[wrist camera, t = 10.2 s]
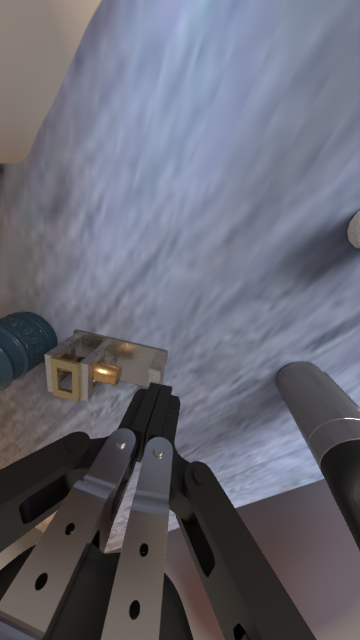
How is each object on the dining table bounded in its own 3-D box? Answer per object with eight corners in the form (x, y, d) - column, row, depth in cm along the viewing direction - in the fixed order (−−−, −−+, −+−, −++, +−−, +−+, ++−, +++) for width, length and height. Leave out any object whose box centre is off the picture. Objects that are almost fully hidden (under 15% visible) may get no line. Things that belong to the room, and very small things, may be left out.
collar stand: (167, 350, 42) (157, 379, 33) (160, 388, 46) (149, 423, 37) (76, 329, 44) (40, 351, 34) (76, 367, 48) (45, 396, 38)
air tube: (122, 362, 41) (114, 374, 37) (121, 377, 43) (113, 390, 39) (67, 348, 42) (52, 359, 38) (67, 364, 43) (53, 375, 39)
